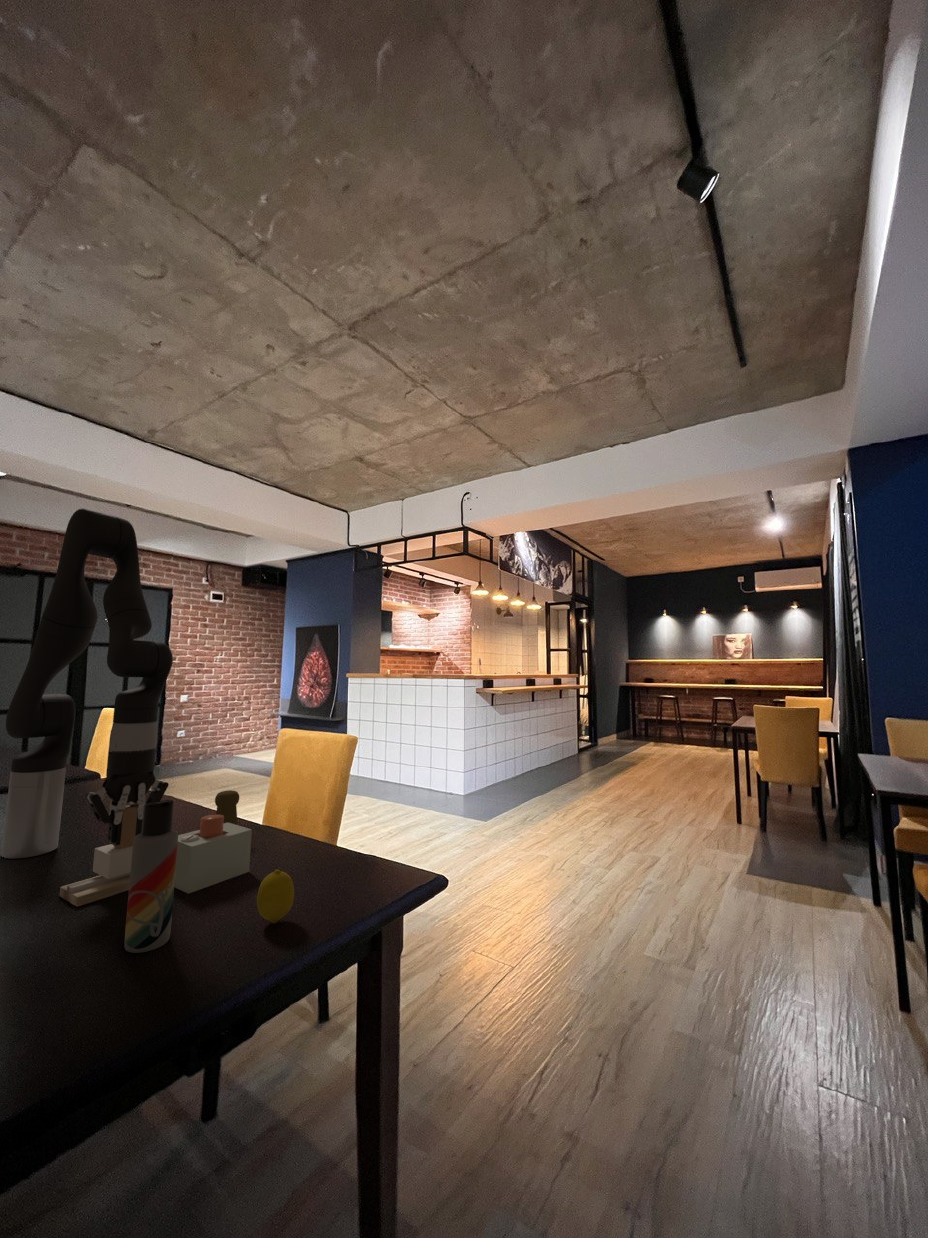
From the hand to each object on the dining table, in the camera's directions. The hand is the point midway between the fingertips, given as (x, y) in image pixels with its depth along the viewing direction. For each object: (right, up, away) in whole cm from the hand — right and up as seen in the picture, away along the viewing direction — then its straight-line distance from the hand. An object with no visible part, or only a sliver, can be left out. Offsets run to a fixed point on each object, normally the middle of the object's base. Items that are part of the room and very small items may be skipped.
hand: (124, 841), depth 92 cm
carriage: (0, -5, 0) cm, 5 cm away
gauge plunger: (+14, -3, +4) cm, 15 cm away
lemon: (+33, -7, -13) cm, 36 cm away
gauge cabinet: (+14, -8, +3) cm, 16 cm away
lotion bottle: (+17, -6, -20) cm, 27 cm away
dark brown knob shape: (+7, -11, +24) cm, 27 cm away
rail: (+2, -8, +3) cm, 9 cm away
